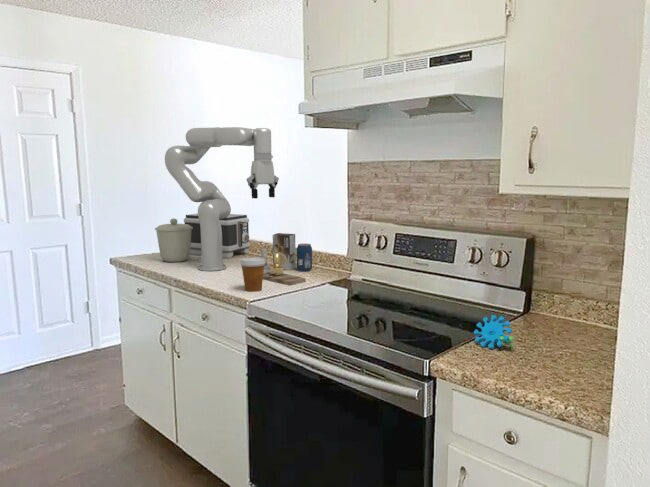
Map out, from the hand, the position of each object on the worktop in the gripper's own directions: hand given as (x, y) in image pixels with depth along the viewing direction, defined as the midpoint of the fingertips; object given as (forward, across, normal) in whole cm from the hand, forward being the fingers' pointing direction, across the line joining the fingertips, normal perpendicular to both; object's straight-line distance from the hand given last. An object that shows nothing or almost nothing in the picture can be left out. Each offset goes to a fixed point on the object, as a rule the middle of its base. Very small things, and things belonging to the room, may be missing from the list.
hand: (263, 197), depth 221 cm
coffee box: (+34, -13, -1) cm, 36 cm away
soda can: (+34, -16, +9) cm, 38 cm away
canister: (+34, +11, -55) cm, 65 cm away
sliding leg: (+31, +5, +12) cm, 34 cm away
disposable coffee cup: (+34, +23, +20) cm, 45 cm away
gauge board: (+33, +4, +13) cm, 36 cm away
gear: (+34, +18, +114) cm, 120 cm away
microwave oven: (+34, -15, -54) cm, 65 cm away
